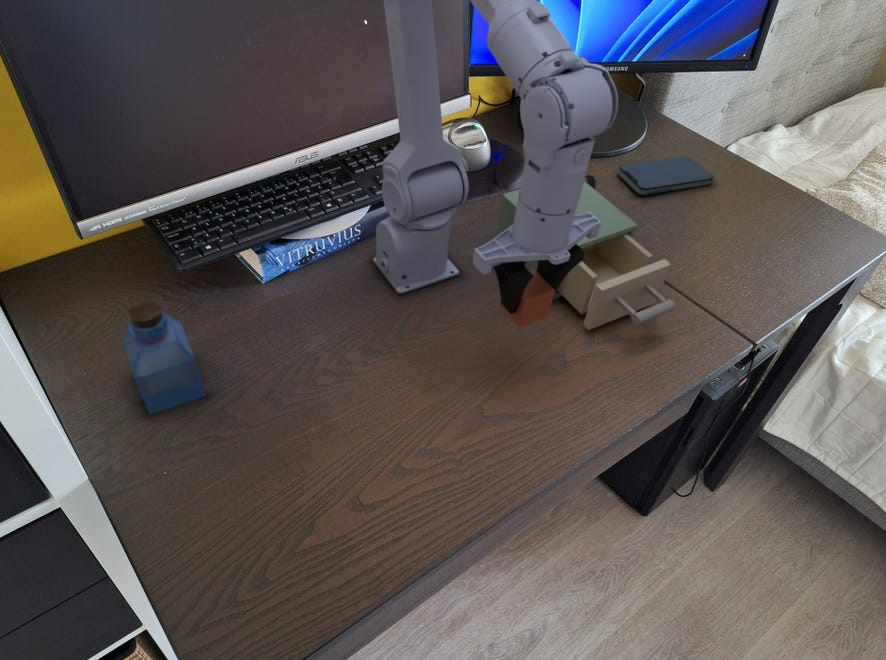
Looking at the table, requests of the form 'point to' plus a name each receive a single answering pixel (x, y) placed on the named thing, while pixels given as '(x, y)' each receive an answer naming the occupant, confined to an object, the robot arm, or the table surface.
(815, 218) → the table surface
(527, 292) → the block
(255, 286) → the table surface
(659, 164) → the smartphone
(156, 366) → the perfume bottle
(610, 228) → the cabinet
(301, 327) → the table surface
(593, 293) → the drawer
